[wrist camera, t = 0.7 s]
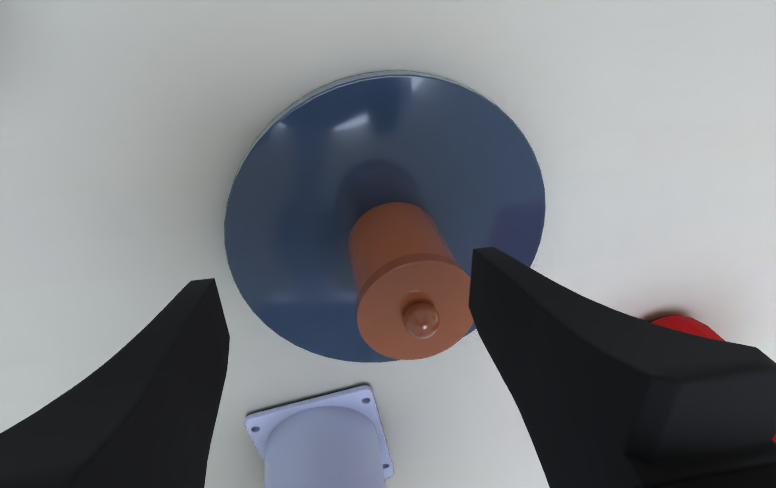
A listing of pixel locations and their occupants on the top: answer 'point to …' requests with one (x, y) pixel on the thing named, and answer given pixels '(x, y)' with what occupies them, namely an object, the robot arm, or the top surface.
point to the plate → (372, 195)
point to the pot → (407, 283)
